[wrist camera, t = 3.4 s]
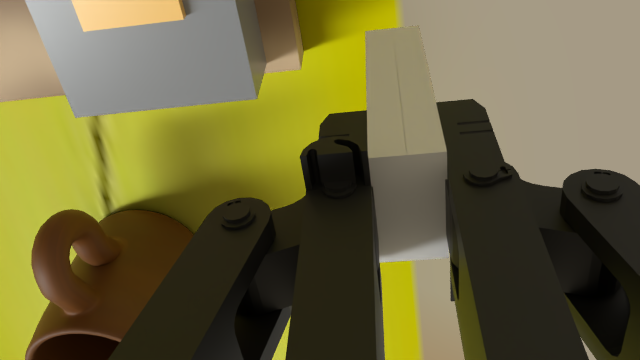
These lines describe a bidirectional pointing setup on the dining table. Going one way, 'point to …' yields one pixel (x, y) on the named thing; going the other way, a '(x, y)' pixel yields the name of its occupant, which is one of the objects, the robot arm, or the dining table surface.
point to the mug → (98, 278)
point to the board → (42, 81)
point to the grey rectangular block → (151, 52)
